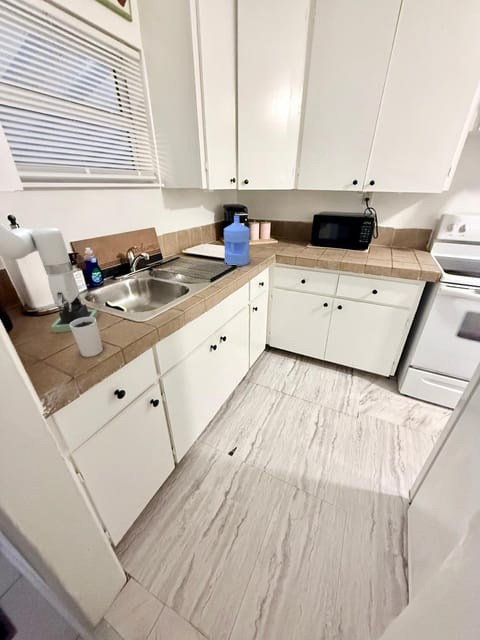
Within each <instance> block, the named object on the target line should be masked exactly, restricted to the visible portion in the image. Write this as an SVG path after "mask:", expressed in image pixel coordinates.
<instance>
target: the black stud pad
mask: <svg viewBox="0 0 480 640" xmlns="http://www.w3.org/2000/svg"><path fill="white" fill-rule="evenodd" d="M71 310H73V312H76V311H79V307H78V306H77V305H74V306H72V305H71ZM91 313H92V312H88V314H87V315H86V317H89V316H90V315H91ZM70 323H71V322H65V323H62V321H61V322H60V323H59V324H58V325H63V324H70Z"/></svg>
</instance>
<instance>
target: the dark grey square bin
mask: <svg viewBox="0 0 480 640" xmlns="http://www.w3.org/2000/svg"><path fill="white" fill-rule="evenodd" d="M65 306H66V307H68V305H65ZM71 306H74V305H71ZM77 306H78V307H79V311H76V312H74V315H75V318H76V319H79V318H83V317H86V315H87V314H88V310H89V309H88V307H87V304H82V305H77ZM58 316H59V317H60V318H61V321H62V323H65V322H66V321H65V319H64V316H63V313H62V312H61V311H60V312H59V313H58Z"/></svg>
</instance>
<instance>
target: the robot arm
mask: <svg viewBox="0 0 480 640" xmlns="http://www.w3.org/2000/svg"><path fill="white" fill-rule="evenodd" d="M34 252H37V253H38V254H39V258H40V260H41V263H42V265H43V268H44V271H45V274H46V276H47V283H48V285H49V289H50V294H51V296H52V300H53V302H54V304H55V305H56V307H57V308H58V309H59V310H60V312H62V313H63V316H64V319H65V321H66V322H72V321H74V320H76V318H75V315H74V312H73V310H71V306H72V305H83V303H82V301H81V297H80V289H79V286H78V283H77V280H76V277H75V275H74V268H73V265H72V262H71V259H70V256H69V252H68V249H67V246H66V242H65V240H64V237H63V234H62V231H61V230H60V229H59V228H57V227H41V228H28V227H16V228H13V229H9V228H8V227H6V226H5V225H4V224H2V223H1V222H0V256H2V257H3V258H6V259H10V260H20V259H24V258H26V257H27V256H28V255H30V254H33V253H34ZM66 306H68V307H66Z"/></svg>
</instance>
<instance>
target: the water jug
mask: <svg viewBox="0 0 480 640" xmlns="http://www.w3.org/2000/svg"><path fill="white" fill-rule="evenodd" d="M250 231H251V230H250V228H249V227H248V226H246V225H244V224H242V223H241V222H240V215H233V223H232V224H230V225H228V226H226V227H224V228H223V241H224V263H225V265H226V266H230V267H232V266H231V265H230V264H236V266H235V267H244V266H247V265H249V264H250V249H251V247H250V236H251V232H250ZM226 263H227V264H226Z"/></svg>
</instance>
